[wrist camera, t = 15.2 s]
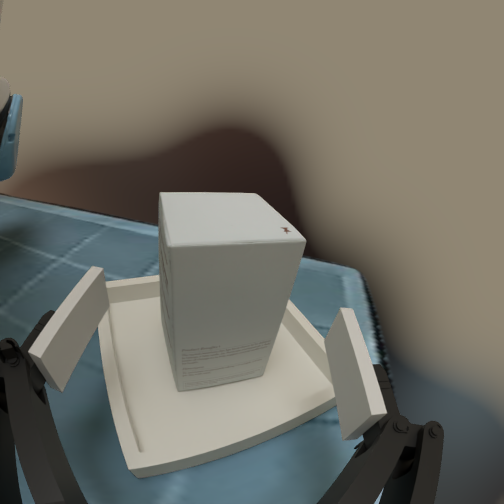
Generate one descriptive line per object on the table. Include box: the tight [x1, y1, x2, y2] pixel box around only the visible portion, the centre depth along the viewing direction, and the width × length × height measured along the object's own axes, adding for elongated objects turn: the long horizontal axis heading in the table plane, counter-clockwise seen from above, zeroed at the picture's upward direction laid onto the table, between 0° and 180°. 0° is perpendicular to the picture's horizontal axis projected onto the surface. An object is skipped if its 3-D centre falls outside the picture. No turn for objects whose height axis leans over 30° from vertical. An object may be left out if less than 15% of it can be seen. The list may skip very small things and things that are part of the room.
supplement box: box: [159, 192, 306, 391], centre depth 19 cm, size 7×7×13 cm
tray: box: [98, 275, 336, 478], centre depth 22 cm, size 18×18×3 cm
